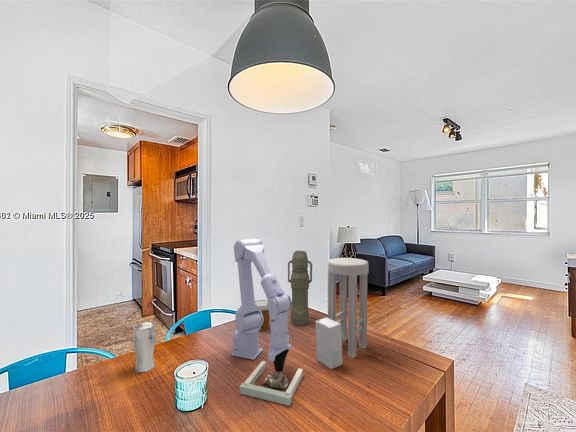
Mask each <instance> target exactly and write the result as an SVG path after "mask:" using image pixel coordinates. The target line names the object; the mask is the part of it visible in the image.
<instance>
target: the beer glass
mask: <svg viewBox="0 0 576 432" xmlns="http://www.w3.org/2000/svg"><path fill="white" fill-rule="evenodd" d="M156 339H157V338H156V323H155V322H153V321H143V322H138V323H137V324H135V325H134V326H133V333H132V342H133V351H134V353H135V358H136V360H135V361H136V362H135V366H134V371H135V372H136V373H140V374H141V373H142V372H143V373H146V372H148V371H151V370H153V369H154V368H155V360H154V351H155V346H156ZM143 373H142V374H143Z"/></svg>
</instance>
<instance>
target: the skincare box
mask: <svg viewBox="0 0 576 432" xmlns="http://www.w3.org/2000/svg"><path fill="white" fill-rule="evenodd" d="M342 342H343V341H342V336H341V323H338V322H337V320H336V321H333V320H331V319H329V318H328V316H326V317H323V318H320V319H318V320H315V343H316V344H315V345H316V347H315V348H316V360H317V361H318V362H319V363H321V364H323V365H324V366H325V367H327V368H328V369H330V370H332V369H334V368H338V367H341V366H342V365H343V362H344V361H343V343H342Z"/></svg>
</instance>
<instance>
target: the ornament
mask: <svg viewBox="0 0 576 432" xmlns="http://www.w3.org/2000/svg"><path fill="white" fill-rule="evenodd" d="M267 373H268V374H266V375H265V379H264V380H263V384H264V385H267V386H269V387H271V389H272V388H274V389H276V388H279V389H283V390H287V389H288V387H289V379H288V378H287V376H286V375H285V374H284V373H283V371H277V372H276V371H274V372H273V371H270V370H268V372H267Z"/></svg>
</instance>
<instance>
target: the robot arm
mask: <svg viewBox="0 0 576 432" xmlns="http://www.w3.org/2000/svg"><path fill="white" fill-rule="evenodd" d="M233 251H234V252H233V253H234V254H233V255H234V261H235V262H236V263H237V271H238V272H237V273H238V280H239V281H238V282H239V292H240V301H241V302H240V303H241V305H240V307H239V308H238V309H237V310H236V311H235V318H234V319H235V320H234V327H235V330H234V332H233V336H232V353H231V356H235V357H238V358H239V357H240V358H243V359H248V360H256V358H257V357H258V356H259V355H260V353H261V352H263V350H264V348H262V347H260V337H259V336H260V331H259V330H260V327H261V326H262V325H263V322H264V318H263V315H262V312H261V308H260V307H259V306H257V305H256V304H255V301H256V300H255V299H256V297H255V290H254V281H253V280H254V279H253V272H252V271H253V269H252V263H253V265H254V267H255V269H256V271H257V272H258V274H259V276H260V277H261V281H260V285H261V288H262V289H263V292H264V294H265V296H266V298H267V299H266V300H268V303H267V308H268V311H269V317H270V319H269V320H270V343H269V352H268V354H267V360H268V361H269V362H273V367H274V370H275V372H276V373H277V371H282V372H283V371H284V368H285V363H286V358H287V355H288V353H289V351H290V350H291V348H292V344H289V341H290V335H289V311H291V308H292V298H291V296H290V295H289V293H286V291H284V290H283V289H282V287H281V285H280V283H279V281H278V279H277V276H276V275H274V274H272V273H271V270H270V268H269V266H268V262H267V260H266V257H265V254H264V252H265V245H264V243H263V241H262V239H261V238H259V237H258V238H257V237H256V238H250V239H249V238H248V239H236V241H235V244H234V245H233Z"/></svg>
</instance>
